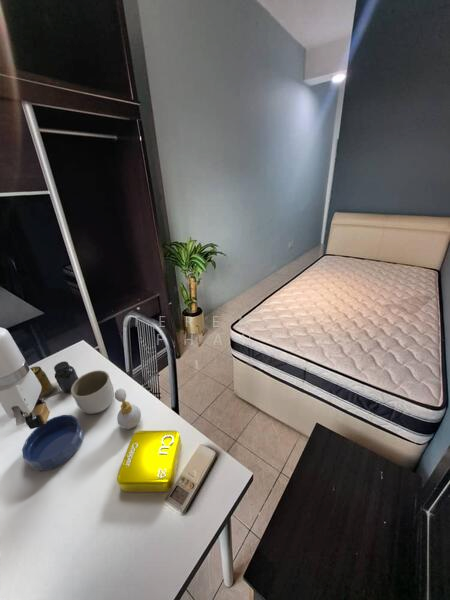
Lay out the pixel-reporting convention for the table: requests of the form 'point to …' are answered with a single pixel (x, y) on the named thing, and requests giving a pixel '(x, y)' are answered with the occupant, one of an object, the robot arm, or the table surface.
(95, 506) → the table surface
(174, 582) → the table surface
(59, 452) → the bowl
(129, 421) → the perfume bottle
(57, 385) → the condiment
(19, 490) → the table surface
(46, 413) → the block
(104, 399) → the planter
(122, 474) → the element tile
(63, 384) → the supplement bottle
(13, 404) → the robot arm
